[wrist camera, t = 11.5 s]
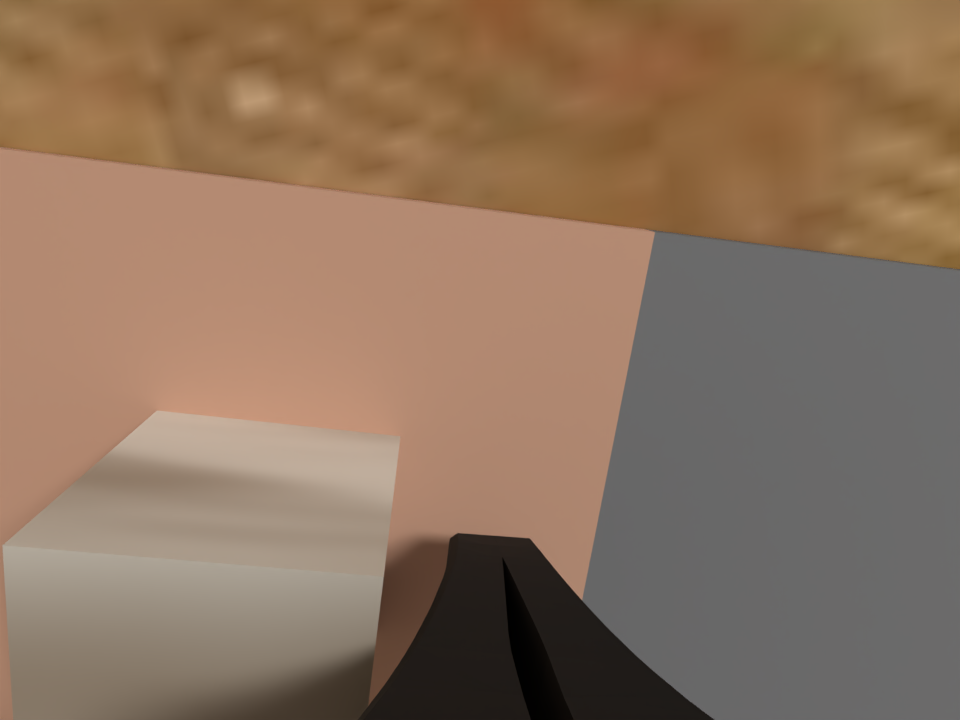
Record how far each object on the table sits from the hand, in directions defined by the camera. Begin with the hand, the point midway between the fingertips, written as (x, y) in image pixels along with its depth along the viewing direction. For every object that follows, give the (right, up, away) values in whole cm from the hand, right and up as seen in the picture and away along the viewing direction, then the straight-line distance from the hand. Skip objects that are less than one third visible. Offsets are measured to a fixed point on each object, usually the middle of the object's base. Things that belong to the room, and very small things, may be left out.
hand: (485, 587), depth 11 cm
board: (+2, 0, +2) cm, 3 cm away
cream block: (-4, +1, +1) cm, 4 cm away
